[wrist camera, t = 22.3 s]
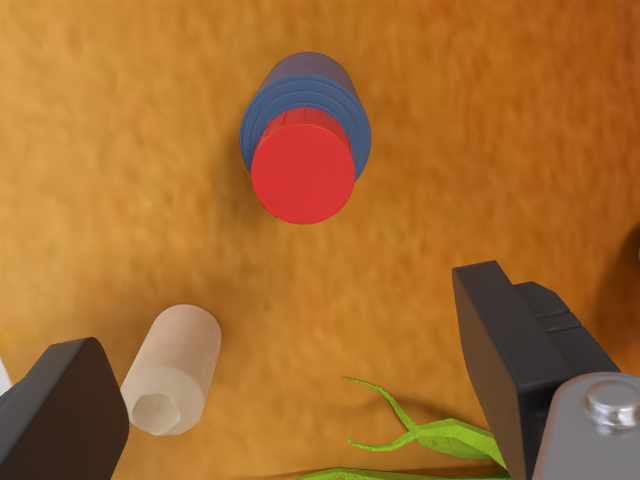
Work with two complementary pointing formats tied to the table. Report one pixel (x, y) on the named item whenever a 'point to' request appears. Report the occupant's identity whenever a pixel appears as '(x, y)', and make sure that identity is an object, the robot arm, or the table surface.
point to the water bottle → (307, 102)
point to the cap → (303, 166)
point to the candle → (173, 371)
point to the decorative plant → (430, 435)
